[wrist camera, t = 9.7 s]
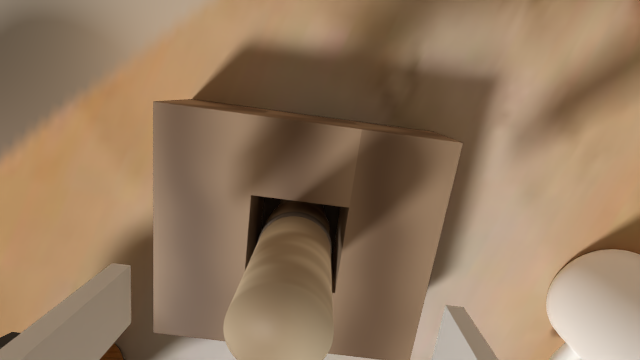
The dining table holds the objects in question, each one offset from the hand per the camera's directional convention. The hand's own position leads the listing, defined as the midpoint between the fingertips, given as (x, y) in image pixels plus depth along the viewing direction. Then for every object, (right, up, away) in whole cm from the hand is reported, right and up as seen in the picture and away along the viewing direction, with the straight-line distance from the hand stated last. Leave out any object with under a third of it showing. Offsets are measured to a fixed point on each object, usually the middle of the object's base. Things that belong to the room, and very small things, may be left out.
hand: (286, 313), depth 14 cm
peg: (0, +3, +10) cm, 10 cm away
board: (0, +3, +10) cm, 10 cm away
